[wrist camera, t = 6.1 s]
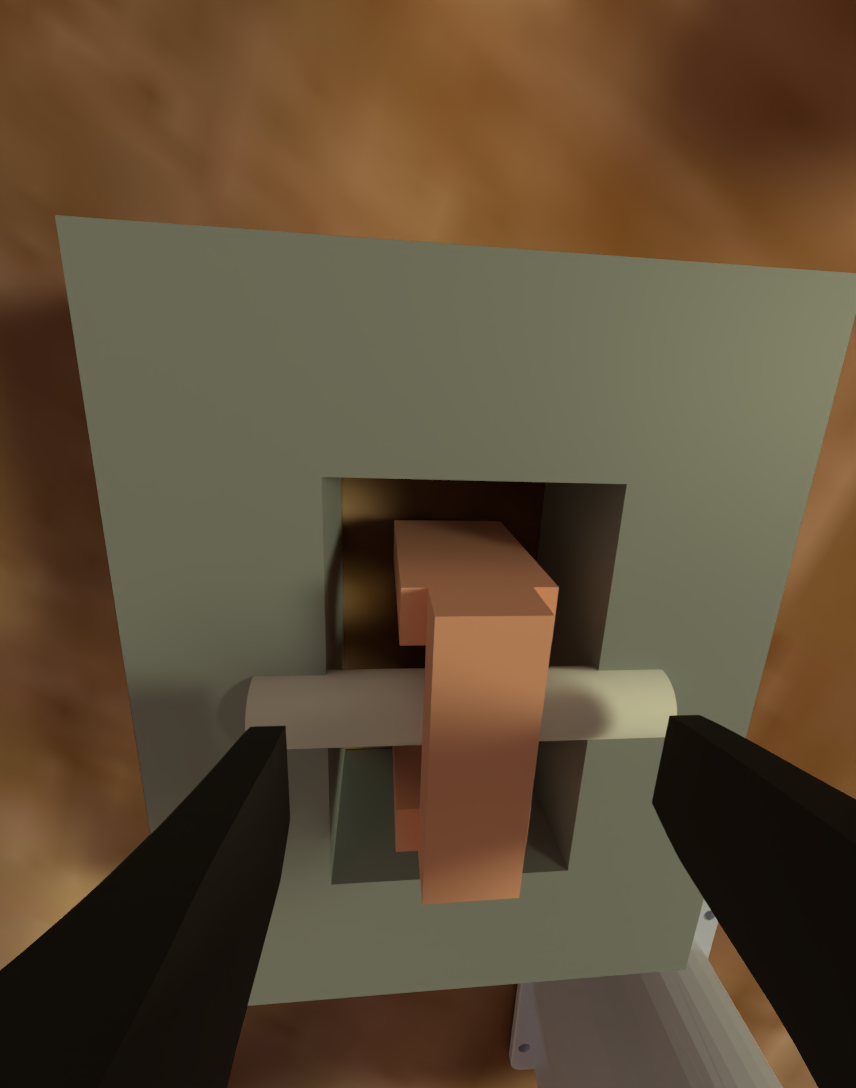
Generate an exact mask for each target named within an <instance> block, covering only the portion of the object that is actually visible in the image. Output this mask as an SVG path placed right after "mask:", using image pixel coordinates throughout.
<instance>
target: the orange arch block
mask: <svg viewBox="0 0 856 1088" xmlns="http://www.w3.org/2000/svg"><path fill="white" fill-rule="evenodd" d="M394 574H395V587H396V601H397V614H398V628H399V641H400V646H414V645H426V654H425V680H424V706H423V732H422V745H406V746H392V753H393V784H394V815H395V846H396V852H404V851H418V858H419V870H420V882H421V895H422V905H423V904H438V903H452V902H467V901H482V900H496V899H511V898H519V895H520V887H521V880H522V872H523V864H524V856H525V848H526V843H527V835H528V827H529V819H530V811H531V801H532V793H533V785H534V777H535V769H536V761H537V753H538V745H539V737H540V730H541V722H542V714H543V706H544V698H545V690H546V682H547V674H548V666H549V658H550V651H551V643H552V638H553V630H554V622H555V614H556V606H557V599H558V591H559V587H558V586H557V584H556V583H555V582H554V581H553V580H552V579H551V578H550V577H549V576H548V574H547V573H546V572H545V571H544V570H543V569H542V568H541V567H540V565H539V564H538V563H537V562H536V561H535V560H534V559H533V558H532V556H531V555H530V554H529V553H528V552H527V551H526V550H525V549H524V548H523V546H522V545H521V544H520V543H519V542H518V541H517V540H516V539H515V537H514V536H513V535H512V534H511V533H510V532H509V531H508V530H507V528H506V527H505V526H504V525H503V524H502V523H501V522H500V521H429V520H394Z"/></svg>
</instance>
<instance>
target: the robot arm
mask: <svg viewBox="0 0 856 1088" xmlns="http://www.w3.org/2000/svg"><path fill="white" fill-rule="evenodd" d="M652 804H653V806H654V809H655V811H656V813H657V815H658V817H659V819H660V821H661V824H662V826H663V828H664V830H665V832H666V834H667V836H668V838H669V840H670V842H671V844H672V846H673V848H674V850H675V852H676V854H677V856H678V858H679V860H680V861H681V863H682V865H683V866H684V868H685V870H686V871H687V873H688V874H689V876H690V878H691V879H692V881H693V882H694V884H695V886H696V887H697V889H698V890H699V892H700V894H701V895H702V897H703V898H704V900H703V904H702V908H701V912H700V916H699V919H698V923H697V927H696V931H695V935H694V939H693V943H692V946H691V950H690V954H689V958H688V962H687V966H686V970H676V971H664V972H652V973H639V974H627V975H615V976H603V977H591V978H579V979H567V980H555V981H543V982H531V983H518V986H517V994H516V1002H515V1010H514V1017H513V1025H512V1033H511V1041H510V1049H509V1058H510V1063H511V1066H512V1067H513V1068H514V1069H516V1070H528V1069H534V1071H535V1076H536V1080H537V1084H538V1088H783V1087H782V1085H781V1084H780V1082H779V1080H778V1079H777V1077H776V1075H775V1074H774V1072H773V1070H772V1068H771V1067H770V1065H769V1063H768V1062H767V1060H766V1058H765V1056H764V1055H763V1053H762V1051H761V1050H760V1048H759V1046H758V1045H757V1043H756V1041H755V1039H754V1038H753V1036H752V1034H751V1033H750V1031H749V1029H748V1027H747V1026H746V1024H745V1022H744V1021H743V1019H742V1017H741V1015H740V1014H739V1012H738V1010H737V1009H736V1007H735V1005H734V1004H733V1002H732V1000H731V998H730V997H729V995H728V993H727V992H726V990H725V988H724V986H723V985H722V983H721V981H720V980H719V978H718V976H717V975H716V973H715V971H714V969H713V968H712V966H711V964H710V963H709V961H708V957H709V953H710V949H711V946H712V942H713V939H714V935H715V931H716V928H717V924H718V922H719V923H720V925H721V927H722V928H723V930H724V931H725V933H726V934H727V936H728V938H729V939H730V941H731V942H732V944H733V945H734V947H735V948H736V950H737V952H738V953H739V955H740V956H741V958H742V959H743V961H744V963H745V964H746V966H747V967H748V969H749V970H750V972H751V974H752V975H753V977H754V978H755V980H756V981H757V983H758V984H759V986H760V988H761V989H762V991H763V992H764V994H765V995H766V997H767V999H768V1000H769V1002H770V1003H771V1005H772V1007H773V1008H774V1010H775V1012H776V1013H777V1015H778V1017H779V1018H780V1020H781V1022H782V1023H783V1025H784V1027H785V1028H786V1030H787V1032H788V1033H789V1035H790V1037H791V1038H792V1040H793V1042H794V1044H795V1045H796V1047H797V1049H798V1051H799V1053H800V1054H801V1056H802V1058H803V1060H804V1062H805V1064H806V1066H807V1067H808V1069H809V1071H810V1073H811V1075H812V1077H813V1078H814V1080H815V1082H816V1084H817V1086H818V1088H856V799H854V798H852V797H850V796H848V795H846V794H845V793H843V792H841V791H839V790H837V789H835V788H834V787H832V786H830V785H828V784H826V783H825V782H823V781H821V780H819V779H817V778H816V777H814V776H812V775H810V774H808V773H807V772H805V771H803V770H801V769H799V768H798V767H796V766H794V765H792V764H791V763H789V762H787V761H785V760H783V759H782V758H780V757H778V756H776V755H775V754H773V753H771V752H769V751H767V750H766V749H764V748H762V747H760V746H758V745H757V744H755V743H753V742H751V741H750V740H748V739H746V738H744V737H742V736H740V735H739V734H737V733H735V732H733V731H731V730H729V729H727V728H725V727H724V726H722V725H720V724H718V723H716V722H714V721H712V720H709V719H707V718H705V717H703V716H701V715H674V716H669V720H668V725H667V730H666V735H665V740H664V745H663V750H662V755H661V760H660V764H659V769H658V774H657V779H656V784H655V789H654V794H653V799H652ZM289 825H290V801H289V782H288V762H287V743H286V726H255V727H249V728H248V729H247V730H246V731H245V732H244V733H243V734H242V735H241V737H240V738H239V739H238V740H237V741H236V742H235V743H234V745H233V746H232V747H231V748H230V749H229V750H228V751H227V753H226V754H225V755H224V756H223V757H222V758H221V759H220V761H219V762H218V763H217V764H216V765H215V766H214V767H213V768H212V769H211V771H210V772H209V773H208V774H207V775H206V776H205V777H204V778H203V779H202V781H201V782H200V783H199V784H198V785H197V786H196V787H195V788H194V789H193V790H192V791H191V793H190V794H189V795H188V796H187V797H186V798H185V799H184V800H183V801H182V802H181V803H180V804H179V805H178V806H177V807H176V808H175V809H174V811H173V812H172V813H171V814H170V815H169V816H168V817H167V818H166V819H165V820H164V821H163V822H162V823H161V824H160V825H159V826H158V827H157V828H156V829H155V830H154V831H153V832H152V833H151V834H150V835H149V836H148V837H147V838H146V839H145V840H144V841H143V842H142V843H141V844H140V845H139V846H138V847H137V848H136V849H135V850H134V851H133V852H132V853H131V854H130V855H129V856H128V857H127V858H126V859H125V860H124V861H123V862H122V863H121V864H120V865H119V866H118V867H117V868H116V869H115V870H114V871H112V872H111V873H110V874H109V875H108V876H107V877H106V878H105V879H104V880H103V881H102V882H101V883H100V884H99V885H98V886H97V887H96V888H95V889H93V890H92V891H91V892H90V893H89V894H88V895H87V896H86V897H85V898H84V899H83V900H81V901H80V902H79V903H78V904H77V905H76V906H75V907H74V908H73V909H71V910H70V911H69V912H68V913H67V914H66V915H65V916H64V917H63V918H61V919H60V920H59V921H58V922H57V923H56V924H54V925H53V926H52V927H51V928H50V929H49V930H48V931H46V932H45V933H44V934H43V935H42V936H41V937H39V938H38V939H37V940H36V941H35V942H34V943H33V944H31V945H30V946H29V947H28V948H27V949H26V950H24V951H23V952H22V953H21V954H20V955H18V956H17V957H16V958H15V959H14V960H13V961H11V962H10V963H9V964H8V965H6V966H5V967H4V968H3V969H1V970H0V1088H227V1085H228V1081H229V1076H230V1072H231V1068H232V1063H233V1059H234V1055H235V1051H236V1047H237V1043H238V1040H239V1036H240V1032H241V1028H242V1025H243V1021H244V1017H245V1013H246V1010H247V1006H248V1002H249V998H250V995H251V991H252V987H253V983H254V980H255V976H256V972H257V968H258V965H259V961H260V957H261V953H262V950H263V946H264V942H265V938H266V934H267V931H268V927H269V923H270V919H271V915H272V912H273V908H274V904H275V900H276V896H277V892H278V889H279V885H280V880H281V874H282V868H283V862H284V856H285V850H286V844H287V837H288V831H289Z"/></svg>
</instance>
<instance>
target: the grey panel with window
mask: <svg viewBox="0 0 856 1088" xmlns="http://www.w3.org/2000/svg"><path fill="white" fill-rule="evenodd" d="M55 218H56V225H57V231H58V238H59V244H60V251H61V257H62V264H63V270H64V277H65V283H66V290H67V296H68V303H69V309H70V316H71V322H72V329H73V335H74V342H75V348H76V355H77V361H78V368H79V374H80V381H81V387H82V394H83V400H84V407H85V413H86V420H87V426H88V433H89V439H90V446H91V452H92V459H93V465H94V472H95V478H96V485H97V491H98V498H99V504H100V511H101V517H102V524H103V530H104V537H105V543H106V550H107V556H108V563H109V569H110V576H111V582H112V589H113V596H114V602H115V609H116V615H117V622H118V628H119V635H120V641H121V648H122V654H123V661H124V667H125V674H126V680H127V687H128V693H129V700H130V706H131V713H132V719H133V726H134V732H135V739H136V745H137V752H138V758H139V765H140V771H141V778H142V784H143V791H144V797H145V804H146V810H147V817H148V823H149V830H150V834H151V833H152V832H153V831H154V830H155V829H156V828H157V827H158V826H159V825H160V824H161V823H162V822H163V821H164V820H165V819H166V818H167V817H168V816H169V815H170V814H171V813H172V812H173V811H174V809H175V808H176V807H177V806H178V805H179V804H180V803H181V802H182V801H183V800H184V799H185V798H186V797H187V796H188V795H189V794H190V793H191V791H192V790H193V789H194V788H195V787H196V786H197V785H198V784H199V783H200V782H201V781H202V779H203V778H204V777H205V776H206V775H207V774H208V773H209V772H210V771H211V769H212V768H213V767H214V766H215V765H216V764H217V763H218V762H219V761H220V759H221V758H222V757H223V756H224V755H225V754H226V753H227V751H228V750H229V749H230V748H231V747H232V746H233V745H234V743H235V742H236V741H237V740H238V739H239V738H240V737H241V735H242V734H243V733H244V732H245V731H246V730H247V729H248V728H249V727H255V726H286V743H287V762H288V782H289V801H290V825H289V831H288V837H287V844H286V850H285V856H284V862H283V868H282V874H281V880H280V885H279V889H278V892H277V896H276V900H275V904H274V908H273V912H272V915H271V919H270V923H269V927H268V931H267V934H266V938H265V942H264V946H263V950H262V953H261V957H260V961H259V965H258V968H257V972H256V976H255V980H254V983H253V987H252V991H251V995H250V998H249V1002H248V1006H252V1005H264V1004H276V1003H288V1002H301V1001H313V1000H325V999H337V998H349V997H361V996H373V995H385V994H397V993H409V992H422V991H434V990H446V989H458V988H470V987H482V986H494V985H506V984H518V983H531V982H543V981H555V980H567V979H579V978H591V977H603V976H615V975H627V974H639V973H652V972H664V971H676V970H686V966H687V962H688V958H689V954H690V950H691V946H692V943H693V939H694V935H695V931H696V927H697V923H698V919H699V916H700V912H701V908H702V904H703V900H704V898H703V897H702V895H701V894H700V892H699V890H698V889H697V887H696V886H695V884H694V882H693V881H692V879H691V878H690V876H689V874H688V873H687V871H686V870H685V868H684V866H683V865H682V863H681V861H680V860H679V858H678V856H677V854H676V852H675V850H674V848H673V846H672V844H671V842H670V840H669V838H668V836H667V834H666V832H665V830H664V828H663V826H662V824H661V821H660V819H659V817H658V815H657V813H656V811H655V809H654V806H653V804H652V799H653V794H654V789H655V784H656V779H657V774H658V769H659V764H660V760H661V755H662V750H663V745H664V740H665V735H666V730H667V725H668V720H669V716H674V715H701V716H703V717H705V718H707V719H709V720H712V721H714V722H716V723H718V724H720V725H722V726H724V727H725V728H727V729H729V730H731V731H733V732H735V733H737V734H739V735H740V736H742V737H744V738H746V735H747V731H748V727H749V723H750V719H751V715H752V711H753V708H754V704H755V700H756V696H757V692H758V688H759V684H760V681H761V677H762V673H763V669H764V665H765V661H766V658H767V654H768V650H769V646H770V642H771V638H772V634H773V631H774V627H775V623H776V619H777V615H778V611H779V607H780V604H781V600H782V596H783V592H784V588H785V584H786V580H787V577H788V573H789V569H790V565H791V561H792V557H793V554H794V550H795V546H796V542H797V538H798V534H799V530H800V527H801V523H802V519H803V515H804V511H805V507H806V503H807V500H808V496H809V492H810V488H811V484H812V480H813V476H814V473H815V469H816V465H817V461H818V457H819V453H820V450H821V446H822V442H823V438H824V434H825V430H826V426H827V423H828V419H829V415H830V411H831V407H832V403H833V399H834V396H835V392H836V388H837V384H838V380H839V376H840V372H841V369H842V365H843V361H844V357H845V353H846V349H847V346H848V342H849V338H850V334H851V330H852V326H853V322H854V319H855V315H856V273H843V272H830V271H816V270H802V269H788V268H775V267H761V266H747V265H733V264H720V263H706V262H692V261H678V260H664V259H651V258H637V257H623V256H609V255H596V254H582V253H568V252H554V251H541V250H527V249H513V248H499V247H485V246H472V245H458V244H444V243H430V242H417V241H403V240H389V239H375V238H362V237H348V236H334V235H320V234H306V233H293V232H279V231H265V230H251V229H238V228H224V227H210V226H196V225H183V224H169V223H155V222H141V221H127V220H114V219H100V218H86V217H72V216H59V215H55ZM342 478H385V479H427V480H470V481H513V482H545V489H544V499H543V508H542V518H541V527H540V537H539V546H538V556H537V563H538V564H539V565H540V567H541V568H542V569H543V570H544V571H545V572H546V573H547V574H548V576H549V577H550V578H551V579H552V580H553V581H554V582H555V583H556V584H557V586H558V587H559V591H558V599H557V606H556V614H555V622H554V630H553V638H552V643H551V651H550V658H549V666H548V674H547V682H546V690H545V698H544V706H543V714H542V722H541V730H540V737H539V745H538V753H537V761H536V769H535V777H534V785H533V793H532V801H531V811H530V819H529V827H528V835H527V843H526V848H525V856H524V864H523V872H522V880H521V887H520V895H519V898H511V899H496V900H482V901H467V902H452V903H438V904H423V905H422V895H421V882H420V870H419V858H418V851H404V852H396V846H395V815H394V784H393V753H392V749H362V750H345V747H375V746H406V745H422V732H423V706H424V680H425V668H405V669H344V633H343V550H342Z"/></svg>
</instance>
